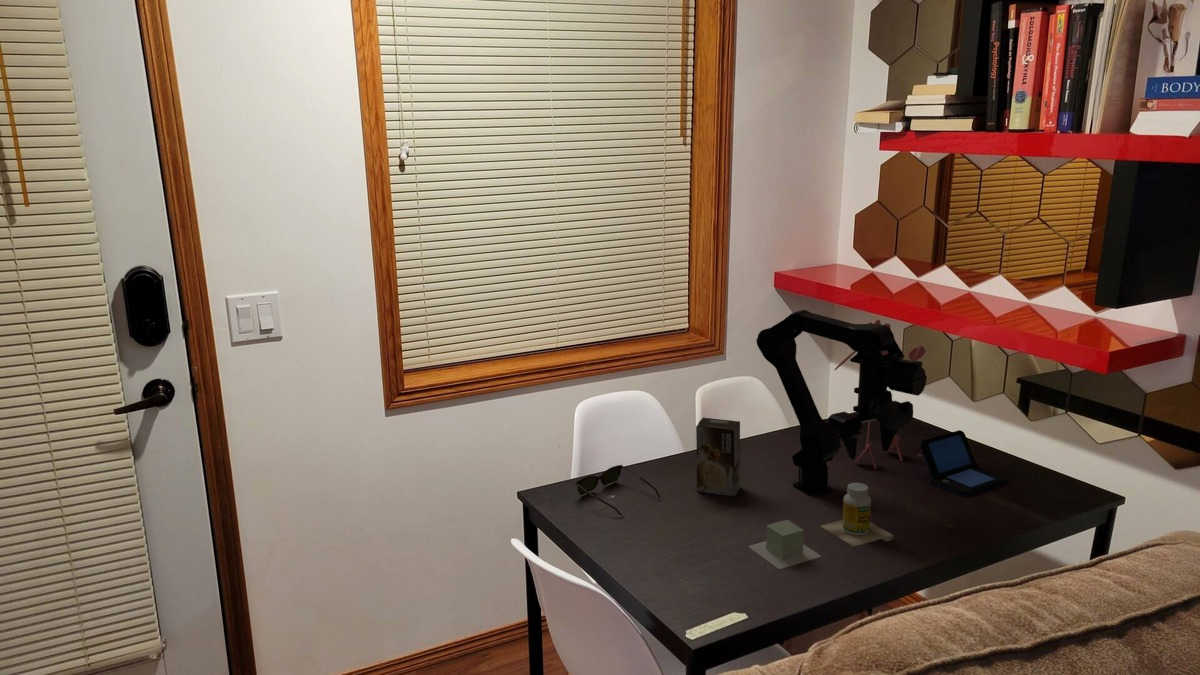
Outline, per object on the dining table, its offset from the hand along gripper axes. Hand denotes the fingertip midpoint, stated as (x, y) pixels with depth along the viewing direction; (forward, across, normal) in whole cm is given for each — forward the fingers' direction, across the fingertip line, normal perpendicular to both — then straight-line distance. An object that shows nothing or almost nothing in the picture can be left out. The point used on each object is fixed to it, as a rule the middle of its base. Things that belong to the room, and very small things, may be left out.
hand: (869, 454), depth 181 cm
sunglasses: (+13, -45, +29) cm, 55 cm away
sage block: (+11, -29, -9) cm, 32 cm away
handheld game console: (+12, +29, 0) cm, 32 cm away
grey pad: (+12, -29, -9) cm, 33 cm away
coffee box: (+12, -23, +23) cm, 35 cm away
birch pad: (+12, -11, -9) cm, 19 cm away
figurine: (+12, +20, +21) cm, 31 cm away
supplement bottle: (+11, -11, -9) cm, 18 cm away
